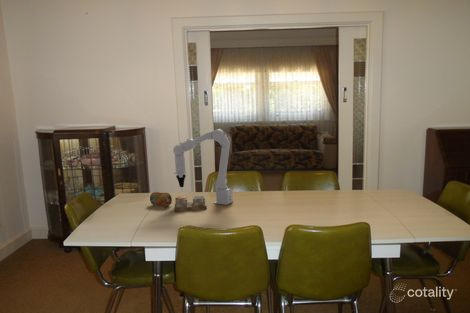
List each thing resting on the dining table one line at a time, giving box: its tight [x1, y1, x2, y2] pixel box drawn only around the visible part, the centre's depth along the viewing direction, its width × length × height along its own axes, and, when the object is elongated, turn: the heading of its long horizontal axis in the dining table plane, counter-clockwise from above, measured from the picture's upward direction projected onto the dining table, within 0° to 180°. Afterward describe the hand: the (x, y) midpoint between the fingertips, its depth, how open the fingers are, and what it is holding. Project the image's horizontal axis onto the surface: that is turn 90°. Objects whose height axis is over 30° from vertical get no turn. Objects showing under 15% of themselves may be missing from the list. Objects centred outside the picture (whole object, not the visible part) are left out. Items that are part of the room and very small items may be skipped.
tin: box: [149, 191, 173, 208], centre depth 215 cm, size 15×3×8 cm, turn 62°
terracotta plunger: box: [177, 195, 186, 200], centre depth 206 cm, size 4×4×4 cm
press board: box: [174, 195, 208, 213], centre depth 207 cm, size 18×10×6 cm, turn 98°
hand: (181, 186), depth 216 cm, fingers closed
